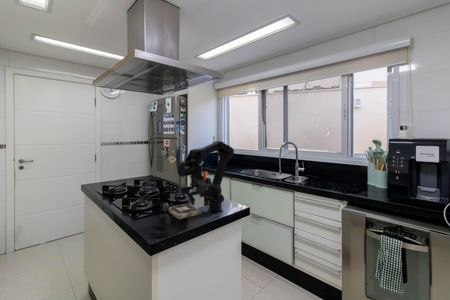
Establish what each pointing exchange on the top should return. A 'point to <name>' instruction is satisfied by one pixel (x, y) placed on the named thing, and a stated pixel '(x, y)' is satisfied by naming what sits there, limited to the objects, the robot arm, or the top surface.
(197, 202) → the block
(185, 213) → the chassis
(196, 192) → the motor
